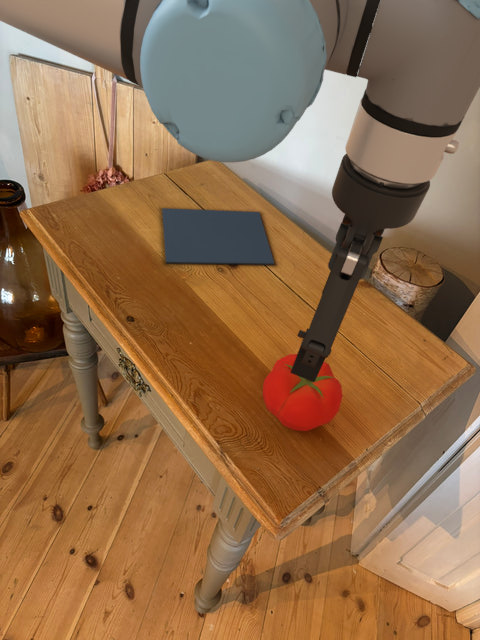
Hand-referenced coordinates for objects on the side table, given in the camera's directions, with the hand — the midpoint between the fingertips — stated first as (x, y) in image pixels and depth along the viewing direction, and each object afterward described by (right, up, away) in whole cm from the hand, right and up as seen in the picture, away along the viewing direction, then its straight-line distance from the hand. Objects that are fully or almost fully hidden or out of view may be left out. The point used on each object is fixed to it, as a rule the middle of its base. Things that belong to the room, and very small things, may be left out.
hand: (319, 332), depth 53 cm
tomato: (-1, -11, +13) cm, 17 cm away
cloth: (-14, +18, +36) cm, 42 cm away
